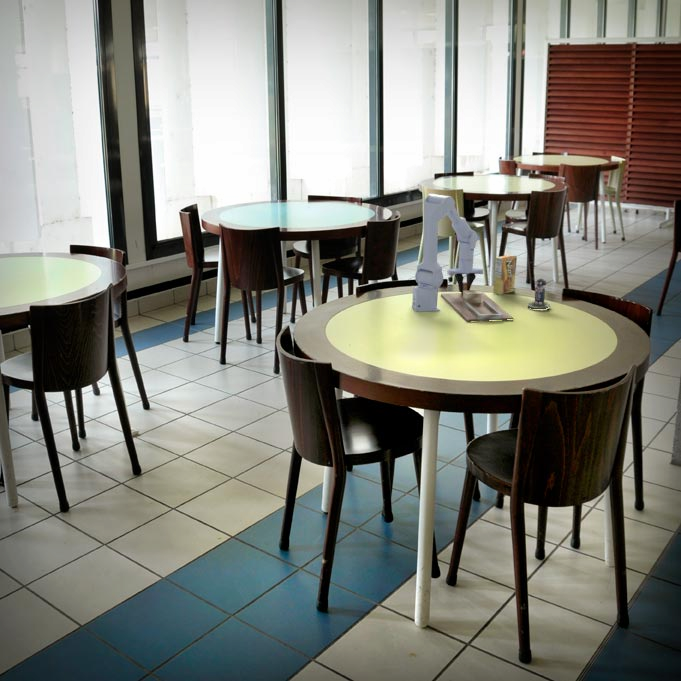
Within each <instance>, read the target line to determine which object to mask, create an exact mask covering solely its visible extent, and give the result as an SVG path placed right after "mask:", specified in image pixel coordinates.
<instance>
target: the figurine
mask: <svg viewBox="0 0 681 681" xmlns="http://www.w3.org/2000/svg"><path fill="white" fill-rule="evenodd" d="M546 285H547V281H546V280H545V279H543V278H539V279H537V280H536V284H535V289H534V292H535V293H534V301H532V302H529V303H528V304H527V309H529V308H531V309H546V308H548V307H550V308H551V304H550V303H548V302H547V301H545V298H546ZM531 309H530V310H531Z"/></svg>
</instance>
